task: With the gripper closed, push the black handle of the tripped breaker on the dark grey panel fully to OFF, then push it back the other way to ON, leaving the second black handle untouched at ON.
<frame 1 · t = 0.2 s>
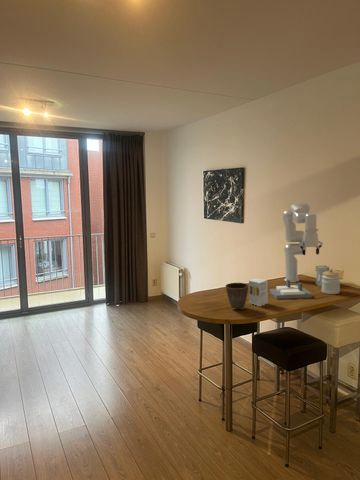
hand: (310, 254, 258), 30 cm above the table, tool pointing down, fingers open, 9 cm apart
supplement box: (258, 304, 248), on the table
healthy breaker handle: (300, 286, 260), point 7 cm above the table, slide at 5.5 cm
tripped breaker handle: (288, 283, 270), point 7 cm above the table, slide at 0.0 cm
breaker panel: (290, 294, 266), on the table
jar: (330, 292, 268), on the table
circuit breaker: (325, 285, 288), on the table
plant pot: (237, 308, 240), on the table
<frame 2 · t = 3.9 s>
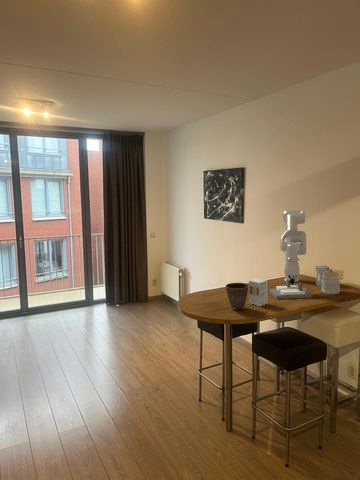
hand: (292, 284, 270), 7 cm above the table, tool pointing down, fingers closed
tripped breaker handle: (287, 283, 270), point 7 cm above the table, slide at -0.2 cm, touching gripper
everything else where it was.
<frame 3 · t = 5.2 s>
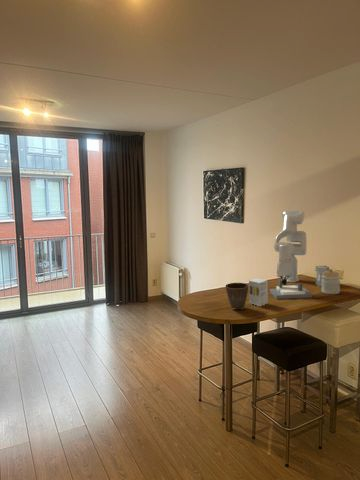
hand: (284, 284, 270), 7 cm above the table, tool pointing down, fingers closed
tripped breaker handle: (280, 283, 270), point 7 cm above the table, slide at -6.0 cm, touching gripper
everything else where it was.
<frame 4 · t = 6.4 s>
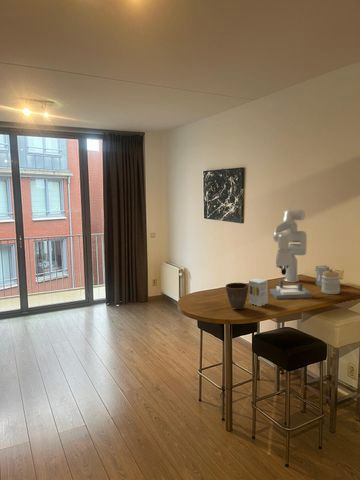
hand: (283, 274, 270), 14 cm above the table, tool pointing down, fingers closed
tripped breaker handle: (280, 283, 270), point 7 cm above the table, slide at -5.6 cm
everything else where it was.
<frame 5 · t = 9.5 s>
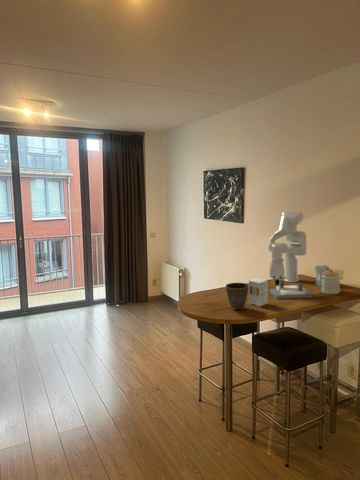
hand: (277, 284, 270), 6 cm above the table, tool pointing down, fingers closed
tripped breaker handle: (281, 283, 270), point 7 cm above the table, slide at -5.0 cm, touching gripper
everything else where it was.
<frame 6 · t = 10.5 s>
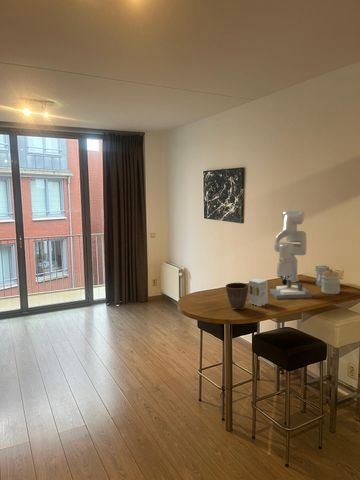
hand: (284, 284, 270), 6 cm above the table, tool pointing down, fingers closed
tripped breaker handle: (288, 283, 270), point 7 cm above the table, slide at 0.6 cm, touching gripper
everything else where it was.
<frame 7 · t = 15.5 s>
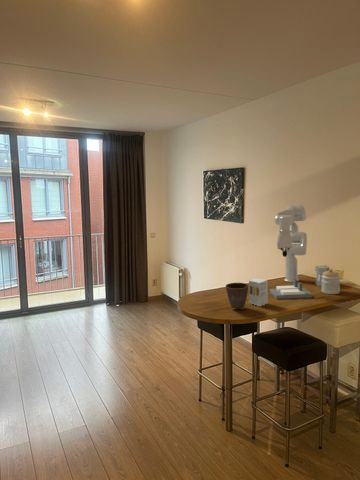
hand: (284, 256, 272), 27 cm above the table, tool pointing down, fingers closed
tripped breaker handle: (295, 282, 270), point 7 cm above the table, slide at 5.6 cm
everything else where it was.
at the end: tripped breaker handle slide at 5.6 cm; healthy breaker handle slide at 5.5 cm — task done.
